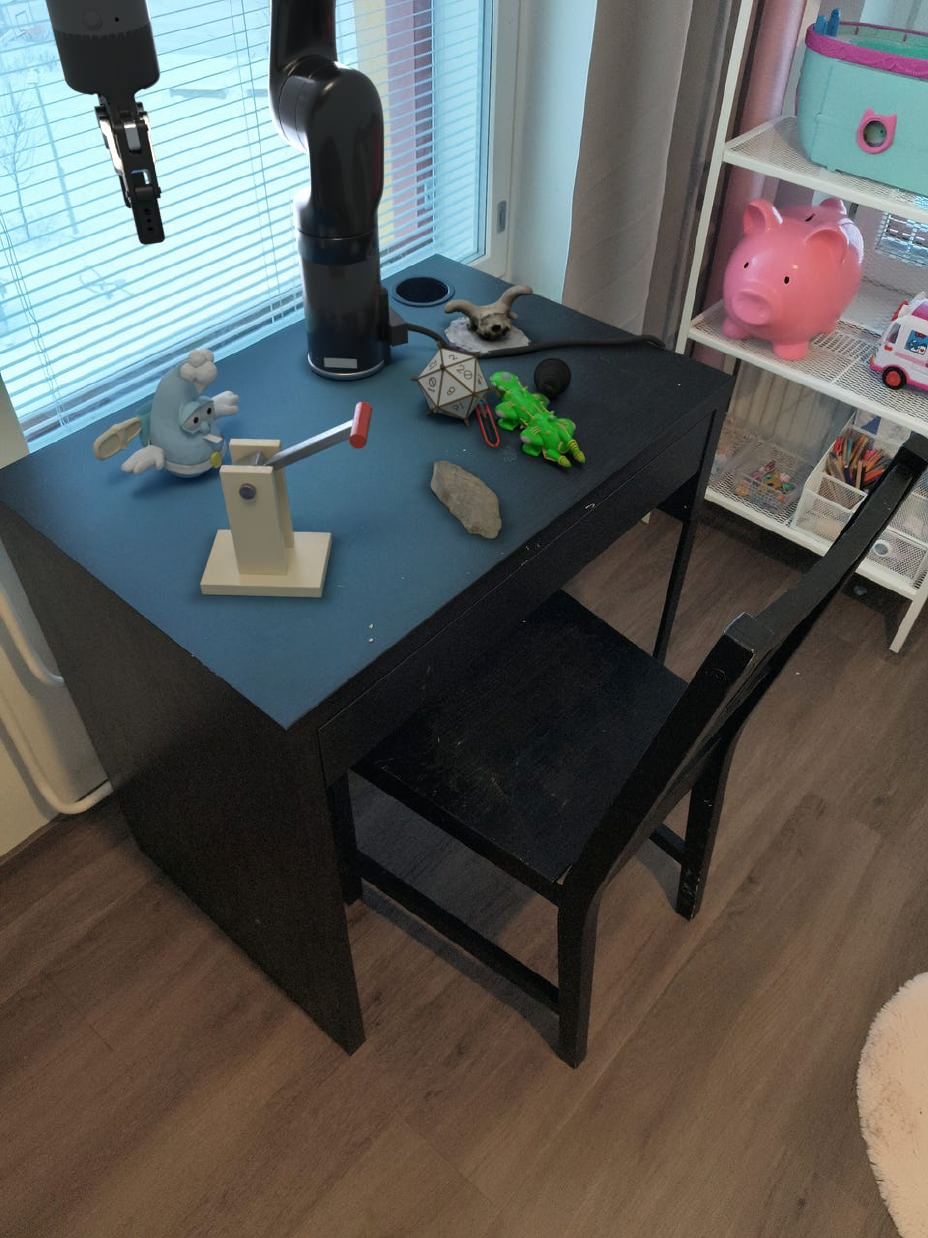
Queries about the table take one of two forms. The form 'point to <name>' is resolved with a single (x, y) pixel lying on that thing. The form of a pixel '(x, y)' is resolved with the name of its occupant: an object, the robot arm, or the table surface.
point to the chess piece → (552, 377)
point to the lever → (317, 442)
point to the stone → (467, 499)
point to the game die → (453, 383)
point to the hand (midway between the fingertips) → (145, 223)
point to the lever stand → (263, 535)
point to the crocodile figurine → (534, 420)
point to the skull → (486, 324)
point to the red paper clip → (484, 410)
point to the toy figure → (175, 423)
